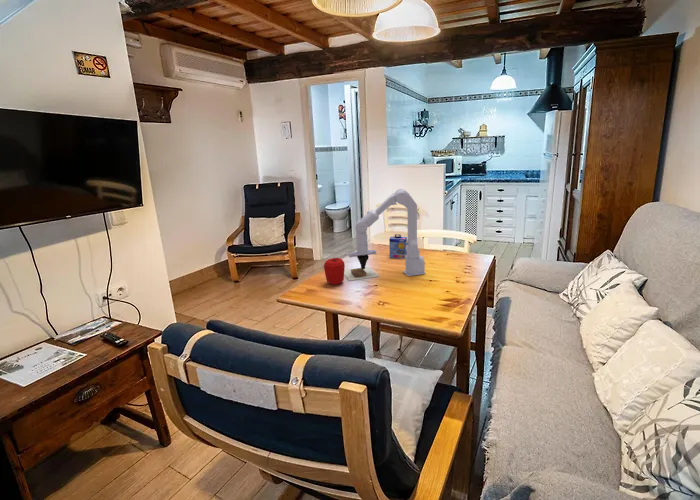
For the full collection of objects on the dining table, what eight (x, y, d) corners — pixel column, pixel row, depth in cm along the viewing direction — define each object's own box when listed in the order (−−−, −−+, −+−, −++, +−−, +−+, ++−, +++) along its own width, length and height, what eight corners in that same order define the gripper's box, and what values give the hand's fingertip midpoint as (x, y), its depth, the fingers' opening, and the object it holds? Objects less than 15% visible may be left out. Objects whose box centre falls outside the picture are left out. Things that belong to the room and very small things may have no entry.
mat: (369, 267, 214) (369, 266, 214) (378, 276, 199) (378, 275, 199) (341, 271, 210) (341, 270, 210) (349, 281, 195) (349, 280, 195)
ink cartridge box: (389, 258, 228) (388, 234, 224) (390, 255, 233) (390, 232, 229) (406, 259, 225) (405, 235, 221) (407, 256, 230) (406, 232, 226)
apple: (331, 278, 200) (329, 253, 196) (349, 280, 195) (347, 255, 191) (321, 285, 191) (319, 259, 187) (339, 288, 186) (338, 261, 182)
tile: (361, 267, 206) (351, 269, 204) (366, 272, 198) (355, 274, 197) (361, 271, 206) (351, 273, 205) (366, 276, 199) (355, 277, 198)
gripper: (372, 240, 204) (373, 264, 207) (346, 243, 200) (347, 268, 204) (377, 243, 197) (378, 268, 201) (350, 246, 193) (351, 272, 197)
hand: (363, 268), depth 202 cm, fingers closed
